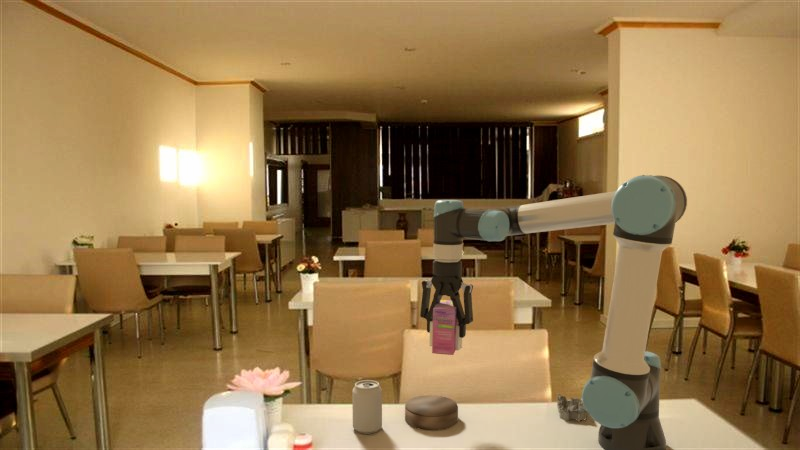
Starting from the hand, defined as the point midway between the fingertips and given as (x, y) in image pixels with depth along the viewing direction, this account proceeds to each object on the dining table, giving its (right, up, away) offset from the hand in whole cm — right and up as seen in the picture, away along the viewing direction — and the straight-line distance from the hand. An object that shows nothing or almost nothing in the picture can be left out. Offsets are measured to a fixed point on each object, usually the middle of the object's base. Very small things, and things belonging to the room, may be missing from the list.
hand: (445, 346), depth 158 cm
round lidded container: (-4, -20, +2) cm, 20 cm away
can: (-20, -21, -4) cm, 29 cm away
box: (0, -1, 0) cm, 1 cm away
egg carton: (+35, -20, +6) cm, 41 cm away
